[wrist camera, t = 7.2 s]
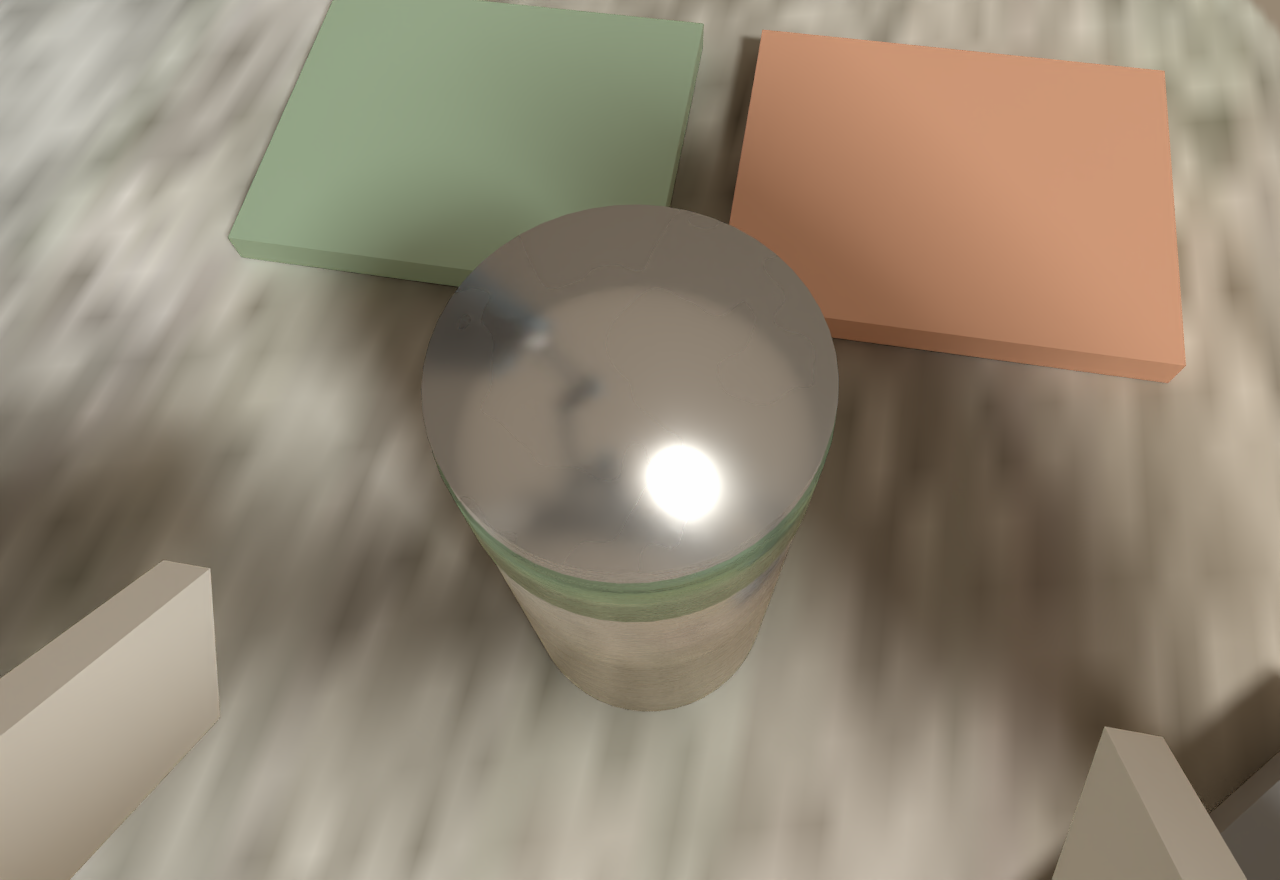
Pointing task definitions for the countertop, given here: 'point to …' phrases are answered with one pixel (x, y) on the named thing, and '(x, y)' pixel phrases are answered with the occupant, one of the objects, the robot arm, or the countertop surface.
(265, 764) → the countertop surface
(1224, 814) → the mounted unit
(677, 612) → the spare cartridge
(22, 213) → the countertop surface
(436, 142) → the green tile
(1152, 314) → the terracotta tile
